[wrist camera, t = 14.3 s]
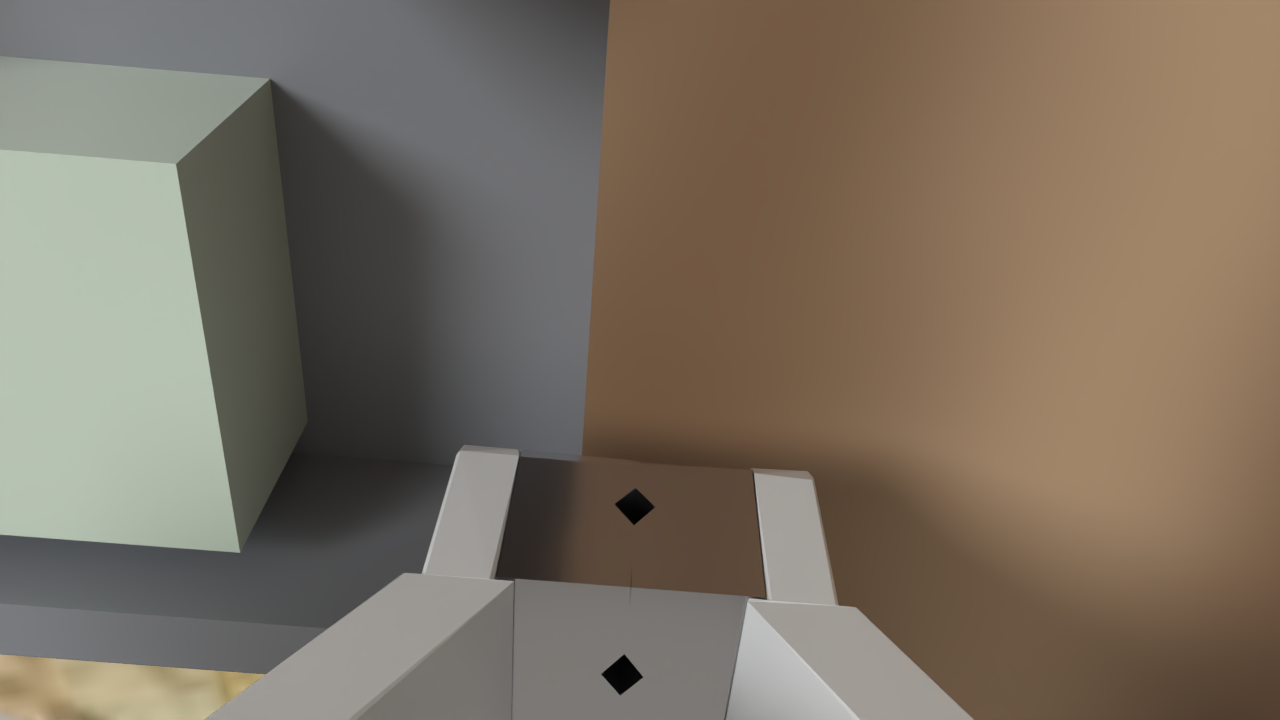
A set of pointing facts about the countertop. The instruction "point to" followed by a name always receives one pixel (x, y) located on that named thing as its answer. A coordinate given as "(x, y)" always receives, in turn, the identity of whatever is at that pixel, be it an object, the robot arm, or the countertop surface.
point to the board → (970, 321)
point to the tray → (358, 299)
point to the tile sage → (142, 306)
